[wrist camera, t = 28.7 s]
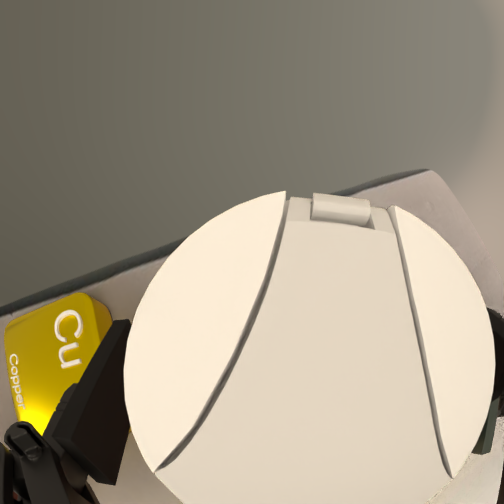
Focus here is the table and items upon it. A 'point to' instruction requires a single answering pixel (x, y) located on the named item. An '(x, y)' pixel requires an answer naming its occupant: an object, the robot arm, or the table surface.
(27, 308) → the table surface
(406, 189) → the table surface
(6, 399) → the table surface
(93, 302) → the element tile
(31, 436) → the robot arm
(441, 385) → the paper cup
